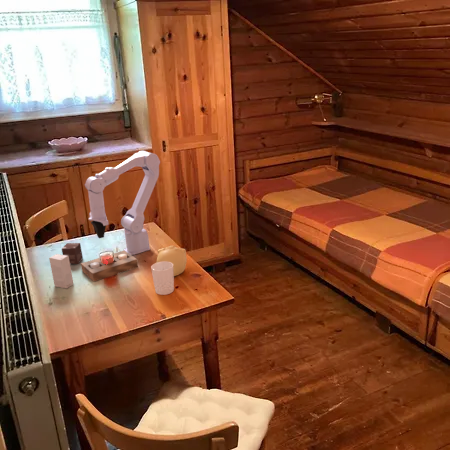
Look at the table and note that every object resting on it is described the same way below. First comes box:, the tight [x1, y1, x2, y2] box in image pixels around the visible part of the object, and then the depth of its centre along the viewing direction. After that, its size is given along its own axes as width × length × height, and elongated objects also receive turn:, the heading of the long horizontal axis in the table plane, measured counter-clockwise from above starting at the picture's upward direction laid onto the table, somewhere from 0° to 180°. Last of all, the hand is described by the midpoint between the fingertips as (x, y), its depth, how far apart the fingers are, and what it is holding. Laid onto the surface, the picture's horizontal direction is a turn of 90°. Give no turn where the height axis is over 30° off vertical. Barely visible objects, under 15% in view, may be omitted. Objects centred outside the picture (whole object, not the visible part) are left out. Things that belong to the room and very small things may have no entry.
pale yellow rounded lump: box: [156, 245, 188, 277], centre depth 194 cm, size 12×12×11 cm
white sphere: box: [90, 262, 100, 269], centre depth 197 cm, size 4×4×4 cm
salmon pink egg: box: [106, 257, 114, 264], centre depth 200 cm, size 4×4×4 cm
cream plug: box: [118, 254, 127, 260], centre depth 204 cm, size 4×4×4 cm
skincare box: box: [49, 253, 74, 289], centre depth 188 cm, size 6×4×12 cm
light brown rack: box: [80, 250, 139, 282], centre depth 201 cm, size 19×12×4 cm, turn 127°
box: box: [61, 242, 83, 265], centre depth 209 cm, size 6×6×7 cm
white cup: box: [150, 261, 175, 296], centre depth 180 cm, size 8×8×10 cm
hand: (101, 237), depth 206 cm, fingers closed
